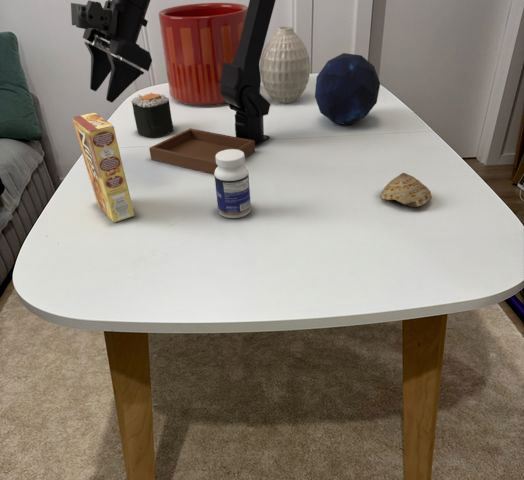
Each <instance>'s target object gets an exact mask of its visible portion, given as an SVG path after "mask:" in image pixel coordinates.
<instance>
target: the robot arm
mask: <svg viewBox="0 0 524 480" xmlns="http://www.w3.org/2000/svg"><path fill="white" fill-rule="evenodd" d="M150 3H151V0H105V3H104V5H102V3H101V2H100V1H94V0H88V1H87V3H86V4H81V3H76V2H70V14H71V16H70V18H71V26H75V28H78V29H82V30H84V31H83V35H82V39H84V40H85V41H84V45H85V46H86V48H87V50H88V53H89V55H90V79H89V80H90V83H89V89H90V90H91V91H93V92H97V91H98V90H99V89H100V87H101V86H102V85H103V83H104V82H105V81H106V79H107V78H108V76H109V78H108V79H109V80H108V85H107V90H106V98H105V100H106V101H107V102H109V103H114V101H116V100H117V99H118V98H119V97H120V95H122V94H123V93H124V91H126V90H127V89H128V88H129V86H131V85H132V84H133V83H134V82H135V81H136V80H137V79H138V78H139V77H140V76H143V75H144V74H145V71H146V72H149V71H150V68H151V65H152V63H153V58H152V55H151V52H150V51H148V50H146V49H145V48H143V47H141V46H140V44H137V43H138V39H139V36H140V33H141V30H142V27H143V28H144V27H145V28H147V26H148V22H149V20H147V19H145V18H146V16H147V12H148V9H149V6H150ZM275 5H276V0H249V1H248V5H247V7H248V10H247V14H246V18H245V22H244V26H243V30H242V34H241V39H240V43H239V47H238V51H237V54H236V57H235V58H234V60H233V61H232V62H231V64H229V63H226V62H224V65H223V70H222V76H221V79H220V80H219V83H220V84H221V87H220V93H221V94H222V97H223V99H224V100H225V101H226V102H228V104H227V105H228V107H229V109H230V110H231V111H234V112H235V114H234V131H235V137H238V138H243V139H248V140H254V141H255V148H256V147H258V146H259V145H262V144H263V143H265V142H266V141H268V140H269V139H270V137H271V136H269V135H267V134H265V131H264V116H267V115H269V112H270V108H271V103H270V102H269V101H268V100H267V99H266V98H265V97H264V96H263V95H262V94H261V93H260V92H261V86H262V79H261V73H260V63H261V57H262V54H263V51H264V48H265V43H266V38H267V35H268V31H269V27H270V23H271V20H272V15H273V11H274V8H275ZM142 69H143V70H145V71H143V70H142Z"/></svg>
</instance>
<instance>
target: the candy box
mask: <svg viewBox="0 0 524 480" xmlns="http://www.w3.org/2000/svg"><path fill="white" fill-rule="evenodd" d="M72 122H73V125H74V130H75V133H76V136H77V139H78V143H79V146H80V149H81V153H82V156H83V160H84V163H85V167H86V170H87V173H88V177H89V180H90V184H91V187H92V191H93V193H94V198H95V201H96V204H97V206H98V207H99V209H101V211H103V213H104V214H105V215H106V216H107V217H108V218H109V219H110V220H111V222H113V223H117V222H121V221H123V220H126V219H129V218H133V217H135V211H134V207H133V202H132V198H131V194H130V189H129V186H128V181H127V177H126V173H125V169H124V168H125V167H124V165H123V161H122V157H121V151H120V148H119V144H118V140H117V134H116V131H115V126H114V125H113V124H112V123H110V122H109V121H107V120H106V119H105V118H104V117H102V116H101V115H99V114H97V113H96V112H90V113H87V114H82V115H77V116H73V117H72Z"/></svg>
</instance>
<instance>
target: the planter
mask: <svg viewBox="0 0 524 480" xmlns="http://www.w3.org/2000/svg"><path fill="white" fill-rule="evenodd" d="M247 10H248V5H246V4H242V3H233V2H200V3H190V4H182V5H176V6H171V7H168V8H164V9H161V10H160V11H159V12H158V21H159V28H160V35H161V36H160V37H161V42H162V50H163V55H164V64H165V70H166V71H165V72H166V77H167V83H168V89H169V95H170V97H171V98H172V99H173V100H174V101H177V102H178V103H180V104H183V105H187V106H188V105H189V106H192V107H193V106H194V107H212V106H213V107H215V106H216V107H217V106H223V105H229V104H228V102H226V101H225V100H224V99H223V97H222V94H221V93H220V87H221V84H220V83H219V80H220V79H221V76H222V70H223V65H224V62H226V63H229V64H231V62H232V61H233V60H234V58H235V57H236V54H237V51H238V47H239V43H240V39H241V34H242V30H243V26H244V22H245V18H246V14H247Z"/></svg>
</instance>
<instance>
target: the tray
mask: <svg viewBox="0 0 524 480" xmlns="http://www.w3.org/2000/svg"><path fill="white" fill-rule="evenodd" d="M228 149H236V150H241V151H243V152H244V156H245V159H247V158H249V157H251V156H252V155H254V154H255V153H256V147H255V141H254V140H248V139H243V138H238V137H236V136H232V135H226V134H223V133H217V132H212V131H206V130H202V129H196V128H190V127H189V128H187V129H186V130H184V131H183V130H182V131H181V132H180V133H177V134H175V135H173V136H171V137H169V138H166V139H164V140H162V141H161V142H159V143H156V144H155V145H152V146H150V147H148V150H149V155H150V160H151V161H155V162H158V163H159V162H160V163H163V164H168V165H173V166H176V167H177V166H178V167H180V168H185V169H188V170H193V171H198V172H202V173H207V174H210V175H214V172H215V169H216V168H217V167H218V165H217V164H216V154H217V153H218V152H220V151H223V150H228Z"/></svg>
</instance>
